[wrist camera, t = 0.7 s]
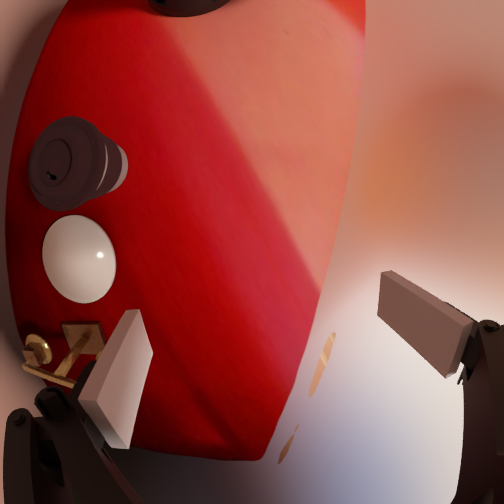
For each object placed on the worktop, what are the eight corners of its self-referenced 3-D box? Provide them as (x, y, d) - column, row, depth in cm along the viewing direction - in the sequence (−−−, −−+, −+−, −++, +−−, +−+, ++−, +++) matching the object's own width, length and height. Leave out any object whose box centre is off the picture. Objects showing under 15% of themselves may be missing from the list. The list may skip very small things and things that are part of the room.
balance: (34, 321, 37) (-6, 362, 23) (141, 319, 40) (115, 377, 26) (45, 347, 39) (10, 392, 24) (149, 350, 42) (130, 411, 27)
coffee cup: (121, 122, 32) (75, 93, 18) (148, 178, 35) (110, 176, 21) (70, 159, 32) (10, 152, 18) (95, 213, 35) (39, 231, 21)
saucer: (40, 221, 34) (36, 222, 32) (110, 208, 35) (106, 209, 34) (57, 301, 37) (54, 304, 36) (125, 297, 39) (123, 301, 38)
